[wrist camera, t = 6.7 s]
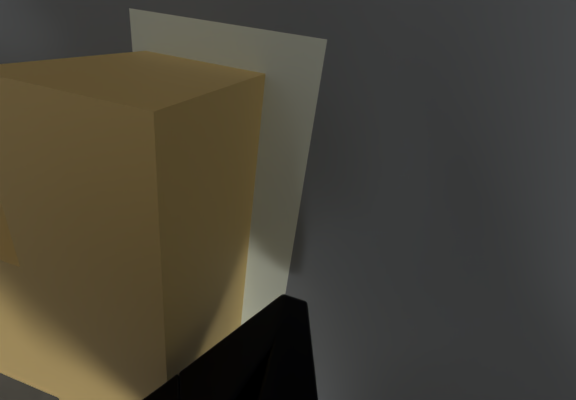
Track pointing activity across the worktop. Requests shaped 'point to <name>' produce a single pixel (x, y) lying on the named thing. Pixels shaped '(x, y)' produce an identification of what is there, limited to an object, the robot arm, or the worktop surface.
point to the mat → (389, 176)
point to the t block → (122, 217)
